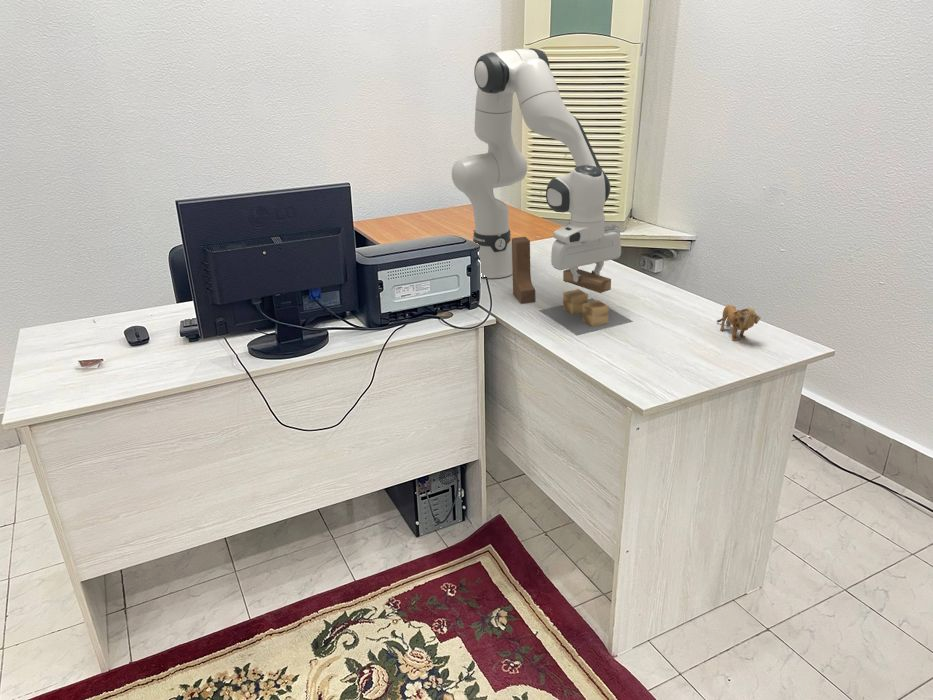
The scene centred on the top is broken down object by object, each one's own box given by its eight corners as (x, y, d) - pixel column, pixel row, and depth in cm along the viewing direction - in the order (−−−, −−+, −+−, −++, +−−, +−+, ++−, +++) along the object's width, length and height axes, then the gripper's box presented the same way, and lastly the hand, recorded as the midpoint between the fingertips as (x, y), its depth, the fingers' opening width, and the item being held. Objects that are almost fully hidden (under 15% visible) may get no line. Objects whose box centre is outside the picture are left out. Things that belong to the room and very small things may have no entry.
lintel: (600, 293, 179) (600, 282, 178) (563, 280, 190) (563, 270, 189) (610, 289, 181) (611, 278, 180) (573, 277, 192) (573, 267, 191)
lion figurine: (759, 343, 170) (764, 310, 166) (741, 346, 168) (745, 313, 165) (724, 321, 182) (728, 290, 179) (707, 324, 181) (710, 293, 177)
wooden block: (535, 303, 201) (535, 244, 193) (521, 305, 200) (519, 246, 193) (526, 293, 209) (525, 236, 201) (512, 294, 208) (511, 237, 201)
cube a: (563, 308, 195) (563, 292, 193) (578, 305, 197) (578, 289, 195) (572, 314, 191) (572, 297, 189) (587, 310, 193) (588, 294, 191)
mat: (539, 311, 195) (539, 310, 195) (592, 299, 201) (592, 298, 201) (576, 336, 179) (576, 335, 178) (633, 322, 185) (633, 321, 185)
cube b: (582, 320, 187) (582, 303, 185) (597, 316, 189) (598, 300, 186) (592, 326, 183) (592, 309, 181) (607, 323, 184) (608, 306, 182)
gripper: (613, 221, 185) (611, 269, 191) (548, 233, 178) (548, 282, 184) (627, 225, 180) (625, 275, 186) (560, 238, 173) (560, 289, 179)
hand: (586, 279), depth 185 cm, fingers closed on lintel, 4 cm apart
